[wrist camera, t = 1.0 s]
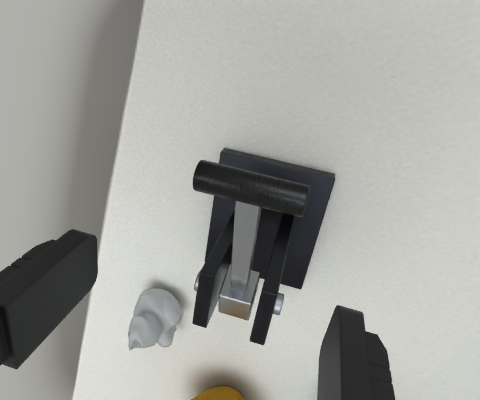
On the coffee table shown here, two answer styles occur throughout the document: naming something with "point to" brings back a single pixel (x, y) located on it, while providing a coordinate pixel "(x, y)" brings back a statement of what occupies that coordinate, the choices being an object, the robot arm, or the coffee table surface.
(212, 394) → the apple
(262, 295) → the lever base
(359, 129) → the coffee table surface
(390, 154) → the coffee table surface
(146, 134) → the coffee table surface
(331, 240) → the coffee table surface
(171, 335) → the grey swirled lump
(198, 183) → the t-handle lever
